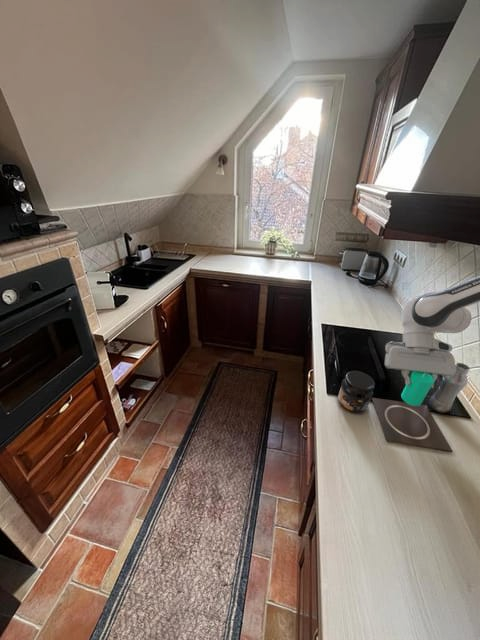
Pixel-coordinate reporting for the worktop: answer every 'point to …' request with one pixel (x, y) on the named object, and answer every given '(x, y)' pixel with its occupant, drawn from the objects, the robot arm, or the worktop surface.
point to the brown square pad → (409, 425)
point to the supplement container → (356, 392)
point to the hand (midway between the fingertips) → (419, 386)
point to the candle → (417, 388)
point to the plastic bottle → (449, 389)
